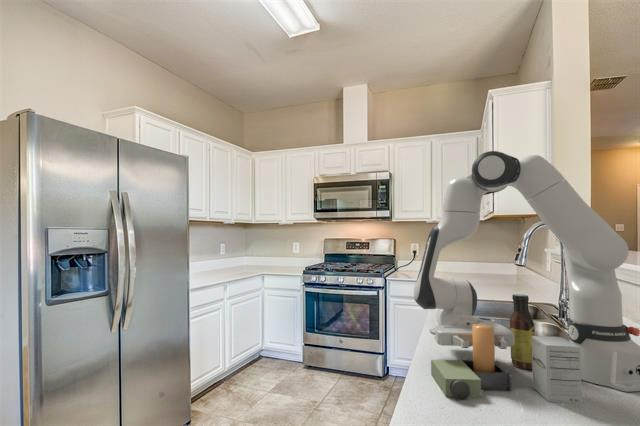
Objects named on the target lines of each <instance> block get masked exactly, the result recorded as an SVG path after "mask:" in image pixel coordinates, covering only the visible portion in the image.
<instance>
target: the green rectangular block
mask: <svg viewBox="0 0 640 426" xmlns="http://www.w3.org/2000/svg"><path fill="white" fill-rule="evenodd" d="M462 360H463V359H458V360H457V359H431V360H430V368H431V369H430V371H431V373H430V374H431V376H432V378H433V380H434V381H435V383H436V384H437V386H438V387H439V389H440V390H441V392H442V393H443V395H444V397H446V398H449V397H450V398H451V397H452V398H455V399H456V400H457V401H464V400H467V399H468V398H478V399H479V398H480V399H481V398H482V391H481V379H480V378H479V377H478V376H477V375H476V374H475V373H474V372H473V371H472V370H471V369H470V368H469V367H468V366H467V365H466V364H465V363H464V362H463V361H462Z"/></svg>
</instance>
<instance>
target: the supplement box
mask: <svg viewBox="0 0 640 426" xmlns="http://www.w3.org/2000/svg"><path fill="white" fill-rule="evenodd" d="M531 370H532V372H531V373H532V388H534V389H535V391H537V392H538V393H539V394H540V395H541V396H542V397H543V398H544V399H545V400H546V401H547V402H548V403H560V402H561V403H563V404H577V405H578V404H579V405H580V404H583V391H582V390H583V387H582V379H581V351H580V347H579V346H577V345H575V344H573V343H572V342H570V340H568V339H566V338H564V337H563V336H550V335H549V336H547V335H546V336H545V335H543V336H542V335H535V336H532V369H531Z"/></svg>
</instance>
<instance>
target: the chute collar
mask: <svg viewBox="0 0 640 426" xmlns="http://www.w3.org/2000/svg"><path fill="white" fill-rule="evenodd" d="M461 360H462V361H463V362H464V363H465V364H466V365H467V366H468V367H469V368H470V369H471V370H472V371H473V359H461ZM474 373H475V374H476V375H477V376H478V377H479V378H480V379H481V392H482V391H483V392H484V391H485V392H512V374H511V373H510V372H509V371H508V370H507V369H505V368H504V367H502V365H501V364H499V363H497V361H495V372H474Z"/></svg>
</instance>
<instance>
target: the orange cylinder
mask: <svg viewBox="0 0 640 426" xmlns="http://www.w3.org/2000/svg"><path fill="white" fill-rule="evenodd" d="M472 336H473V346H472V360H473V372H495V362H496V360H495V359H496V353H495V348H496V346H494V327H493V326H491V325H487V324H473V325H472Z"/></svg>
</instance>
